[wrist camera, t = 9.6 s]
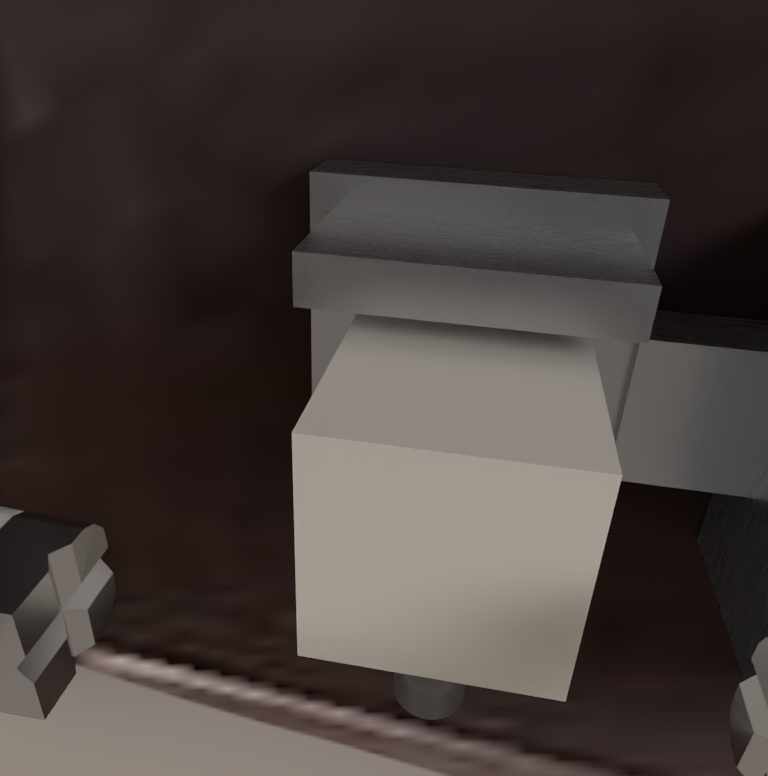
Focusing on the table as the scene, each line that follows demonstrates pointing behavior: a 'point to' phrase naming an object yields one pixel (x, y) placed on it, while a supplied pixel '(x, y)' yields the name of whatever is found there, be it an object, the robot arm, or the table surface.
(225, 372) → the table surface
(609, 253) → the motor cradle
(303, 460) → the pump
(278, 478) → the table surface
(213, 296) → the table surface
